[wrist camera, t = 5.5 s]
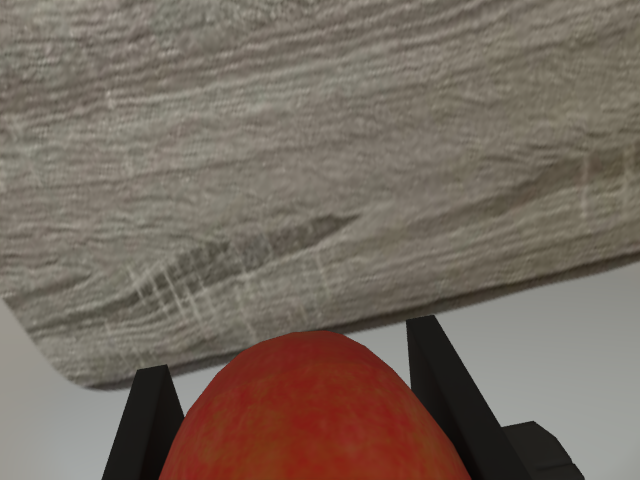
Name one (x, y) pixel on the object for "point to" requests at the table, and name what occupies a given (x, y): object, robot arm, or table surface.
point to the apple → (310, 419)
